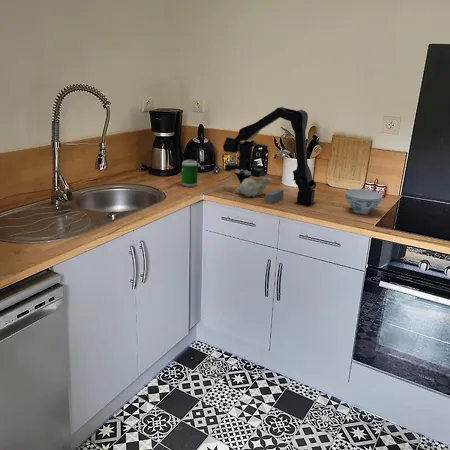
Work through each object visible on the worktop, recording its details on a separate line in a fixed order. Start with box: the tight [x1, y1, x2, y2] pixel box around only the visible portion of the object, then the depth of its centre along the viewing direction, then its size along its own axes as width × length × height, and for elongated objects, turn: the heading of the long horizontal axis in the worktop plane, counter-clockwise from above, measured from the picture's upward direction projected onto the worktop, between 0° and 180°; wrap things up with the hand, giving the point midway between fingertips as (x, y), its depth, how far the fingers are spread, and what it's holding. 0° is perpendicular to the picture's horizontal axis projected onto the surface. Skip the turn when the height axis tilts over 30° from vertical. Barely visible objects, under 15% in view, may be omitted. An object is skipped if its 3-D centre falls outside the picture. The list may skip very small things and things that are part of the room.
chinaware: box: [344, 188, 383, 215], centre depth 193 cm, size 15×15×8 cm
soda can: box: [181, 159, 199, 188], centre depth 220 cm, size 8×8×12 cm
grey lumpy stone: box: [234, 175, 273, 198], centre depth 209 cm, size 15×7×15 cm
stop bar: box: [264, 188, 284, 205], centre depth 203 cm, size 3×11×4 cm, turn 145°
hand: (243, 187), depth 214 cm, fingers closed
